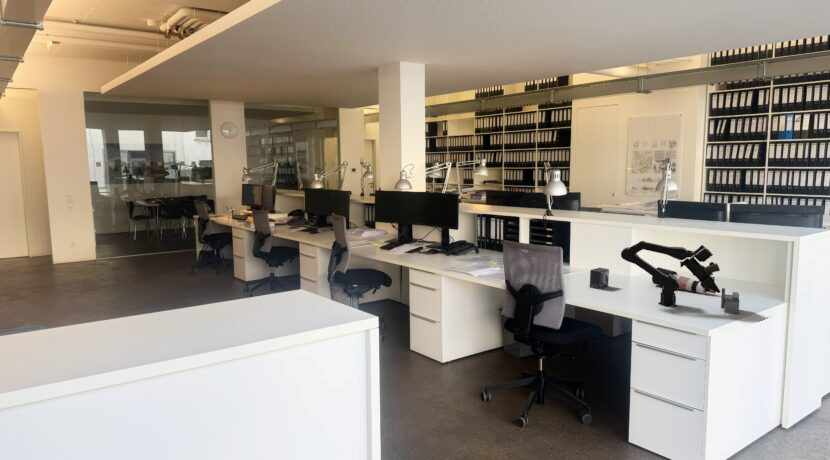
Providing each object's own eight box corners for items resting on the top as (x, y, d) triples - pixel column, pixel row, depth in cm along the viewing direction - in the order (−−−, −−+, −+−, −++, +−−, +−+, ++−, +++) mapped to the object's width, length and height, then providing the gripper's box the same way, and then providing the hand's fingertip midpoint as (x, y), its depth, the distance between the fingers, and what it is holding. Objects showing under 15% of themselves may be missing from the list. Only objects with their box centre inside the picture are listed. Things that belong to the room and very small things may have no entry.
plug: (720, 310, 272) (722, 288, 271) (720, 308, 276) (721, 287, 275) (736, 311, 269) (737, 290, 268) (735, 309, 273) (736, 288, 272)
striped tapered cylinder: (711, 304, 302) (710, 289, 297) (653, 287, 328) (651, 273, 323) (720, 293, 306) (719, 279, 302) (662, 277, 332) (660, 264, 328)
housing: (724, 312, 269) (726, 294, 268) (723, 307, 278) (724, 290, 277) (738, 314, 266) (739, 295, 265) (736, 309, 275) (738, 291, 274)
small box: (599, 289, 320) (599, 271, 318) (589, 287, 324) (589, 269, 323) (609, 286, 326) (609, 268, 325) (598, 284, 331) (599, 267, 330)
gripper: (710, 260, 265) (735, 285, 262) (708, 254, 282) (732, 278, 278) (690, 275, 269) (715, 300, 266) (690, 268, 286) (713, 292, 283)
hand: (719, 292), depth 273 cm, fingers closed
